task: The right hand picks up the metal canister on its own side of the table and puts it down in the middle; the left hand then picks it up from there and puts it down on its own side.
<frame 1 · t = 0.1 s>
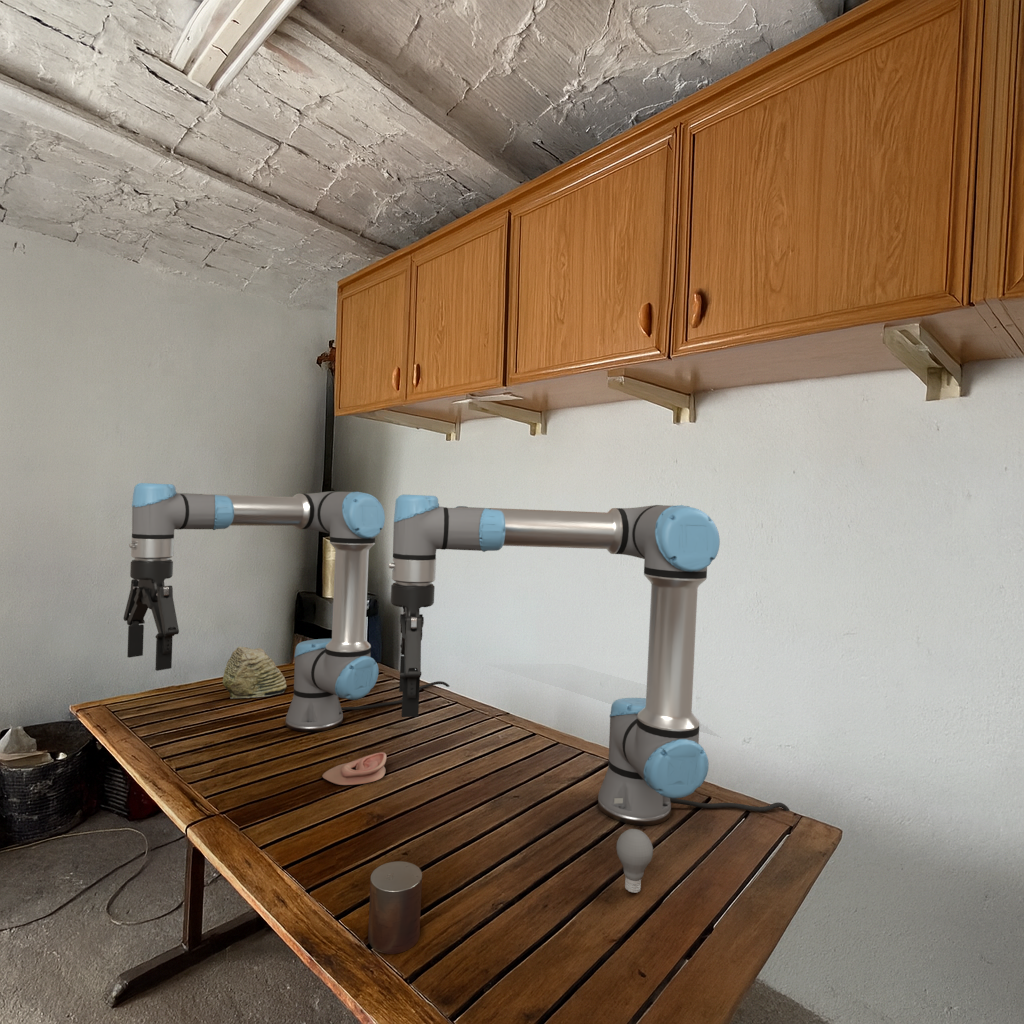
left hand: (148, 662, 129), 28 cm above the table, tool pointing down, fingers open, 13 cm apart
right hand: (408, 703, 111), 28 cm above the table, tool pointing down, fingers open, 13 cm apart
light bulb: (632, 891, 106), on the table
fossil: (254, 694, 198), on the table
anatomical model: (354, 775, 144), on the table
canister: (394, 936, 93), on the table
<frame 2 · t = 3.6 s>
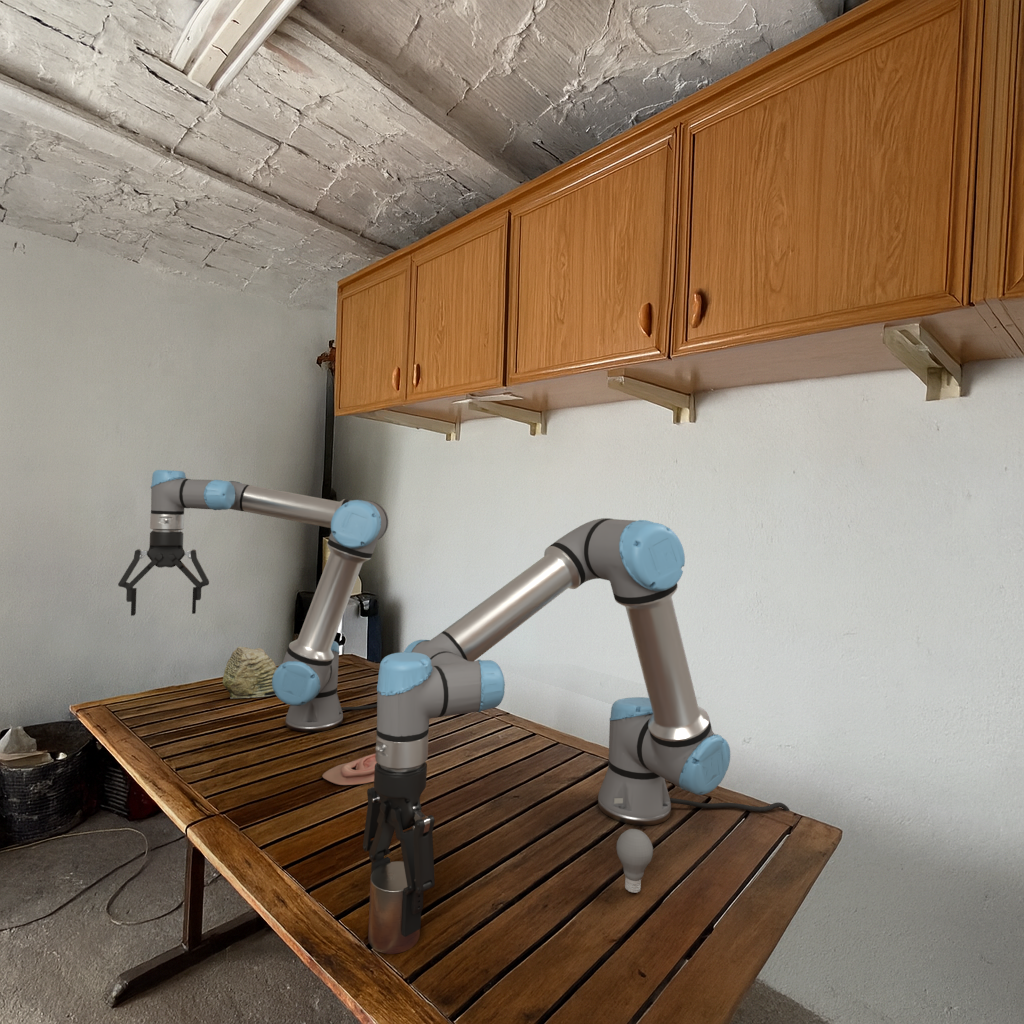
left hand: (164, 613, 162), 31 cm above the table, tool pointing down, fingers open, 13 cm apart
right hand: (394, 916, 92), 3 cm above the table, tool pointing down, fingers closed on canister, 7 cm apart
canister: (394, 936, 93), on the table, touching right hand
everything else where it was.
when the right hand's fingers open (4 cm above the table, at t = 10.0 s): canister drops 1 cm, on the table.
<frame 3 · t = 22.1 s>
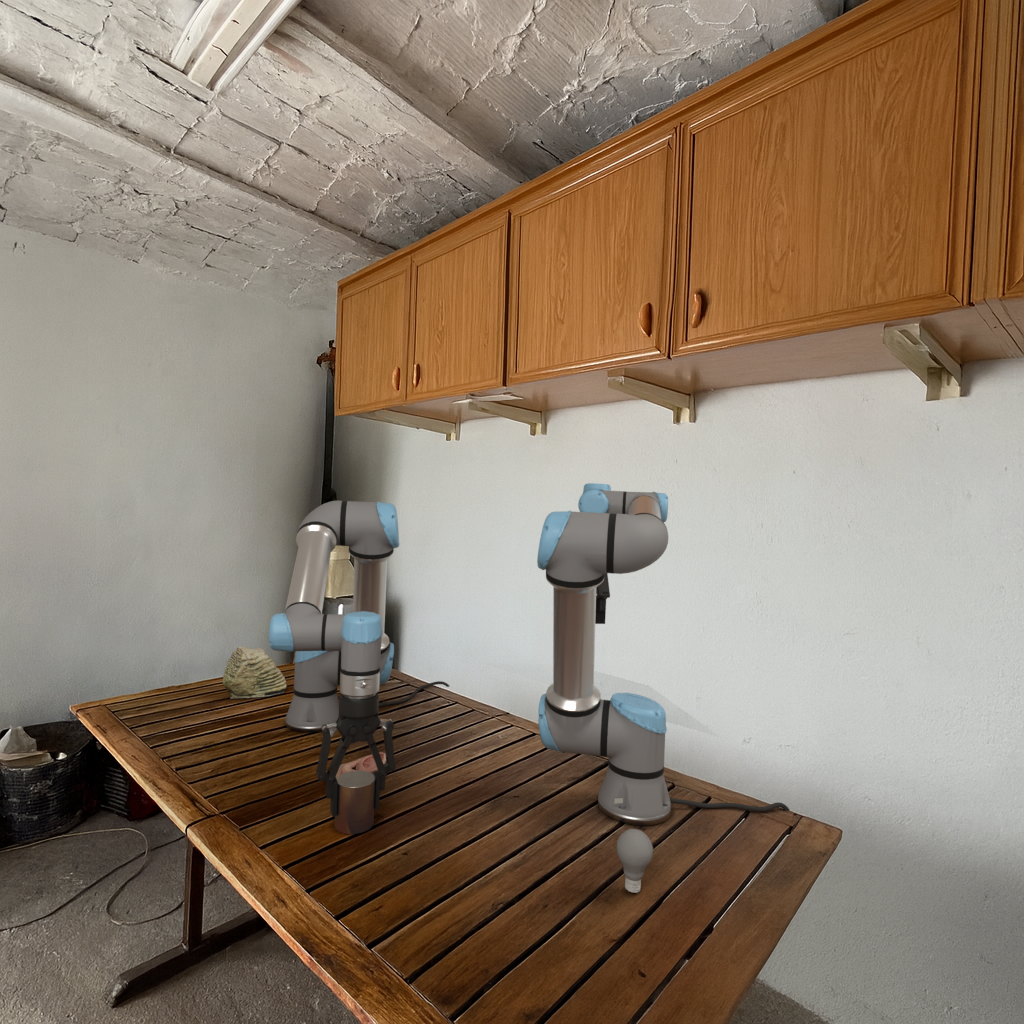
left hand: (354, 809, 123), 3 cm above the table, tool pointing down, fingers closed on canister, 7 cm apart
right hand: (591, 618, 172), 33 cm above the table, tool pointing down, fingers open, 13 cm apart
canister: (354, 824, 123), on the table, touching left hand
everything else where it was.
when the left hand's fingers open (4 cm above the table, at t = 27.8 s): canister drops 1 cm, on the table.
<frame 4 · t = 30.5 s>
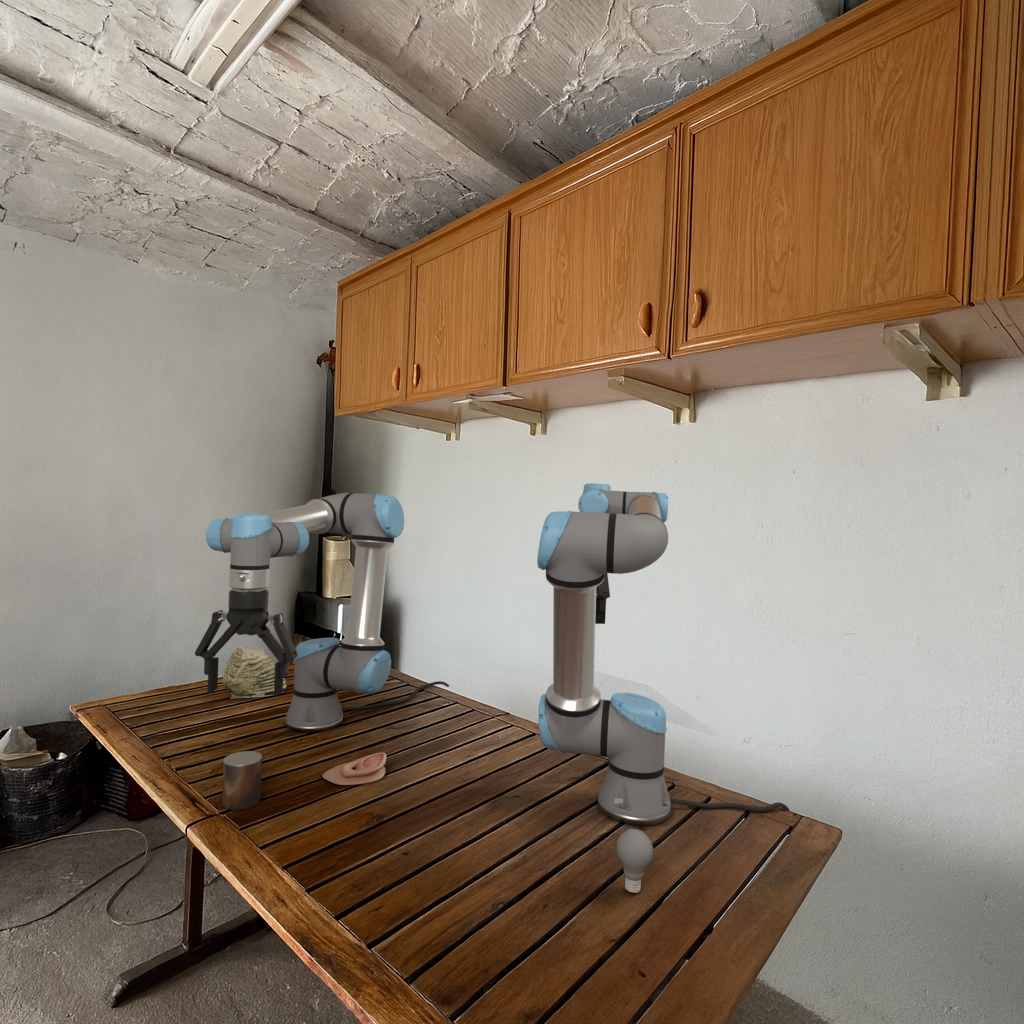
left hand: (245, 692, 130), 23 cm above the table, tool pointing down, fingers open, 13 cm apart
right hand: (591, 618, 172), 33 cm above the table, tool pointing down, fingers open, 13 cm apart
canister: (241, 801, 130), on the table
everything else where it was.
at the end: canister inside the target area (0.0 cm from its centre), on the table; canister tilted 0°; the two hands never held the canister at the same time; the left hand is holding nothing; the right hand is holding nothing; canister at rest at the end (0.0 cm/s) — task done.
